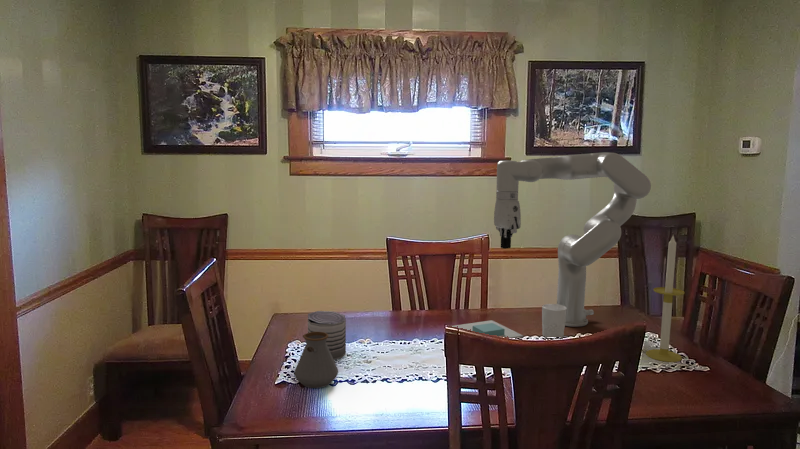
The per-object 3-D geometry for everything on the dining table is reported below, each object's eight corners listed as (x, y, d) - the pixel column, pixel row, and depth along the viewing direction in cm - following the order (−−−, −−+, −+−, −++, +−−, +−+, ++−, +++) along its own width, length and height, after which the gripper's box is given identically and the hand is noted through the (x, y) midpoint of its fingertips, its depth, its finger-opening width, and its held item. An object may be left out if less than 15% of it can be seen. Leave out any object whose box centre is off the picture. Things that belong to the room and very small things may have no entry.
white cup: (567, 340, 188) (569, 310, 186) (543, 339, 188) (545, 310, 187) (561, 332, 196) (563, 303, 194) (538, 332, 196) (539, 303, 194)
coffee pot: (298, 373, 158) (297, 320, 156) (340, 373, 158) (340, 320, 156) (284, 408, 137) (283, 348, 135) (332, 409, 137) (332, 348, 135)
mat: (491, 321, 206) (491, 320, 206) (522, 337, 190) (522, 335, 190) (445, 328, 198) (445, 326, 198) (474, 345, 182) (474, 343, 182)
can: (323, 345, 181) (323, 307, 179) (353, 352, 175) (353, 313, 173) (299, 356, 171) (299, 317, 169) (330, 363, 165) (330, 323, 164)
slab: (492, 322, 197) (504, 328, 190) (492, 328, 197) (504, 334, 191) (472, 325, 193) (484, 331, 187) (472, 331, 194) (484, 337, 187)
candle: (685, 363, 169) (696, 237, 164) (649, 360, 171) (659, 235, 166) (676, 351, 179) (686, 232, 174) (642, 348, 181) (651, 230, 176)
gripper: (529, 197, 196) (527, 250, 198) (503, 194, 209) (501, 244, 212) (511, 198, 192) (509, 252, 195) (485, 194, 206) (484, 245, 208)
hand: (505, 247), depth 203 cm, fingers closed
